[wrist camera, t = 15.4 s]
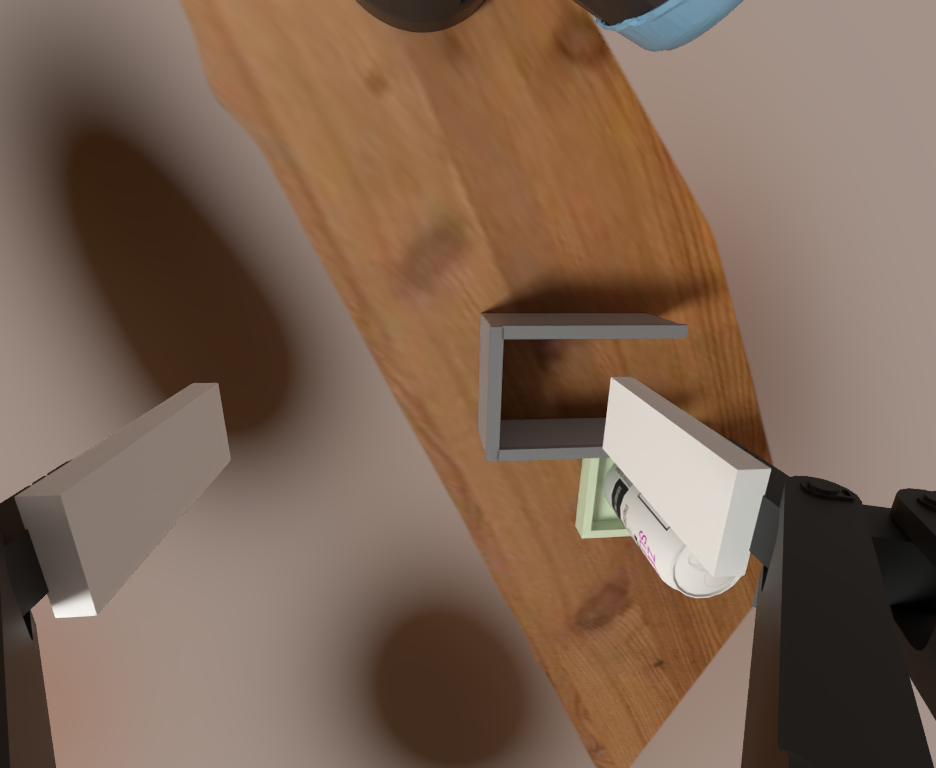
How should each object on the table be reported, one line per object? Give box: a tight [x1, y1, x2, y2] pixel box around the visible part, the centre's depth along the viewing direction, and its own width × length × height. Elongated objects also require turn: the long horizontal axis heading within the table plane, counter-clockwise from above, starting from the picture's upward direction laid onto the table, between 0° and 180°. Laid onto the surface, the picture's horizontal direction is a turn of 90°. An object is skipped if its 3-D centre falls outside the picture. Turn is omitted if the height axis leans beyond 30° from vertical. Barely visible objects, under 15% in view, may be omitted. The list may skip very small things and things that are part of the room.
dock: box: [478, 313, 688, 461], centre depth 46 cm, size 13×18×8 cm
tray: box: [575, 458, 631, 538], centre depth 53 cm, size 13×13×2 cm
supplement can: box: [603, 463, 741, 598], centre depth 47 cm, size 8×8×15 cm
